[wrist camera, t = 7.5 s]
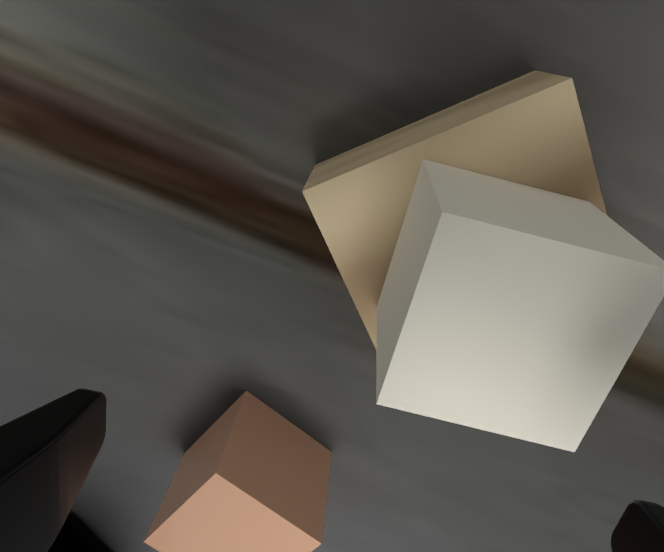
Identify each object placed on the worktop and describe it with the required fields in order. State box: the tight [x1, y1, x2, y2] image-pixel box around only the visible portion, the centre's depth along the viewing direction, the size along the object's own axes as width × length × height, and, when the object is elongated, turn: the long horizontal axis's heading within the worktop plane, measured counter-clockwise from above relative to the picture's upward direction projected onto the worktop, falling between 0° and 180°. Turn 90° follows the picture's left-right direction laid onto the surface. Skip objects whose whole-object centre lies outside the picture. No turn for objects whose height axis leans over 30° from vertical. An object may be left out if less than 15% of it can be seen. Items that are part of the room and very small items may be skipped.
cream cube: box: [376, 159, 664, 452], centre depth 14 cm, size 5×5×5 cm
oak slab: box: [302, 70, 607, 348], centre depth 18 cm, size 8×8×4 cm
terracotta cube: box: [144, 391, 332, 552], centre depth 23 cm, size 5×5×5 cm
